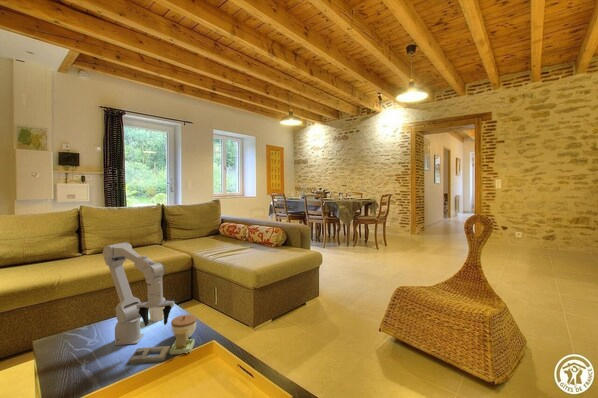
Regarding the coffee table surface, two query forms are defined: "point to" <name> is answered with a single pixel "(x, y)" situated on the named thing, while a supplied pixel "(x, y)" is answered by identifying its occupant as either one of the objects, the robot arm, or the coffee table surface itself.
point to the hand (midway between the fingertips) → (156, 324)
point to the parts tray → (180, 351)
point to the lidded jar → (184, 324)
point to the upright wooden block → (182, 339)
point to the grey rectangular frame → (142, 354)
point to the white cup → (156, 313)
